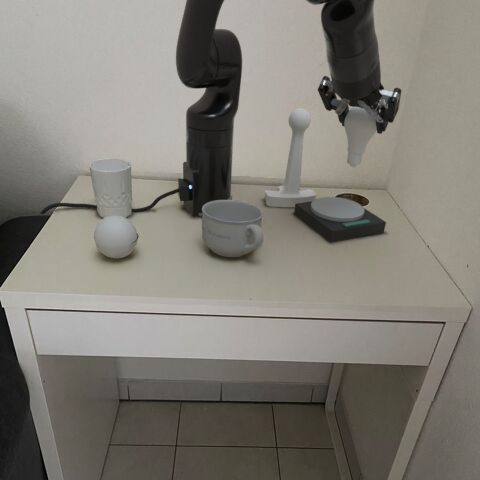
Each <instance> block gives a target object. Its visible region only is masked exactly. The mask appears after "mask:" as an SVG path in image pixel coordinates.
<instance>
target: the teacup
mask: <svg viewBox="0 0 480 480" xmlns="http://www.w3.org/2000/svg"><path fill="white" fill-rule="evenodd" d="M202 212H203V214H202V218H201V237H202V240H203V243H204V244H205V246H207V248H209V249H210V250H211V251H212V253H214V254H216V255H218V256H221V257H225V258H240V257H244V256H245V255H247V254H249V253H251V252H252V251H254V250H256V249H259V248H260V247H262V245H263V243H264V232H263V230H262V225H263V222H262V221H263V217H264V211H263V209H262V208H260V206H257V205H256V204H253V203H250V202H247V201H242V200H237V199H236V200H235V199H232V200H216V201H211V202H208V203H206V204H205V205H203V207H202Z"/></svg>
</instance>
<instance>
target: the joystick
mask: <svg viewBox="0 0 480 480" xmlns="http://www.w3.org/2000/svg"><path fill="white" fill-rule="evenodd" d="M311 121H312V119H311V115H310V113H309V111H308V110H306V109H305V108H302V107H298V108H295V109H293V110H292V111H291V112H290V114H289V116H288V125H289V127H290V129H291V132H292V133H291V140H290V145H289V152H288V158H287V163H286V170H285V177H284V182H283V184H282V185H279V186H278V187H277V190H270V189H265V190H264V195H263V198H264V199H263V200H265V205H266V206H267V207H273V208H274V207H275V208H295V204H296V203H304V202H311V201H314V200H315V199H317V194H316V192H315V191H314V190H313V189H309V188H308V189H303V190H301V177H302V162H303V150H304V149H303V148H304V135H305V132H306V131H307V130H308V128H309V127H310V126H311Z"/></svg>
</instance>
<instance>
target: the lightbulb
mask: <svg viewBox="0 0 480 480" xmlns="http://www.w3.org/2000/svg"><path fill="white" fill-rule="evenodd" d="M343 127H344V131H345V134H346V136H347V158H346V163H347V164H348V165H349V166H350V167H352V168H356V166H359V165H360V164H361V162H362V158H363V155H364V154H365V152H366V148H367V145H368V144H369V142H370V140H371V139H372V138H373V137H374V135H375V134H376V133H377V127H376V119H375V118H374V117H373V116H369V114H368V113H367V112H366V111H365V109H363V108H360V107H351V108H350V109H349V112H348V113H347V115H346V117H345V121H344V126H343Z"/></svg>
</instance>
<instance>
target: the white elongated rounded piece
mask: <svg viewBox="0 0 480 480" xmlns="http://www.w3.org/2000/svg"><path fill="white" fill-rule="evenodd" d="M138 239H139V233H138V231H137V228H136V226H135V225H134V224H133V222H132V221H131V220H129V219H128V218H127V217H126V218H125V217H122V216H117V215H112V216H108V217H105V218H103V217H102V219H101V220H100V221H99V222H98V223H97V224H96V226H95V228H94V231H93V240H94V243H95V247H96V248H97V249H98V251H99V252H100V253H101V254H102V255H104V256H106V257H107V258H111V259H123V258H126V257H128V256H129V255H130V254H132V253H133V252H134V251H135V248H136V247H137V245H138Z"/></svg>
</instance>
